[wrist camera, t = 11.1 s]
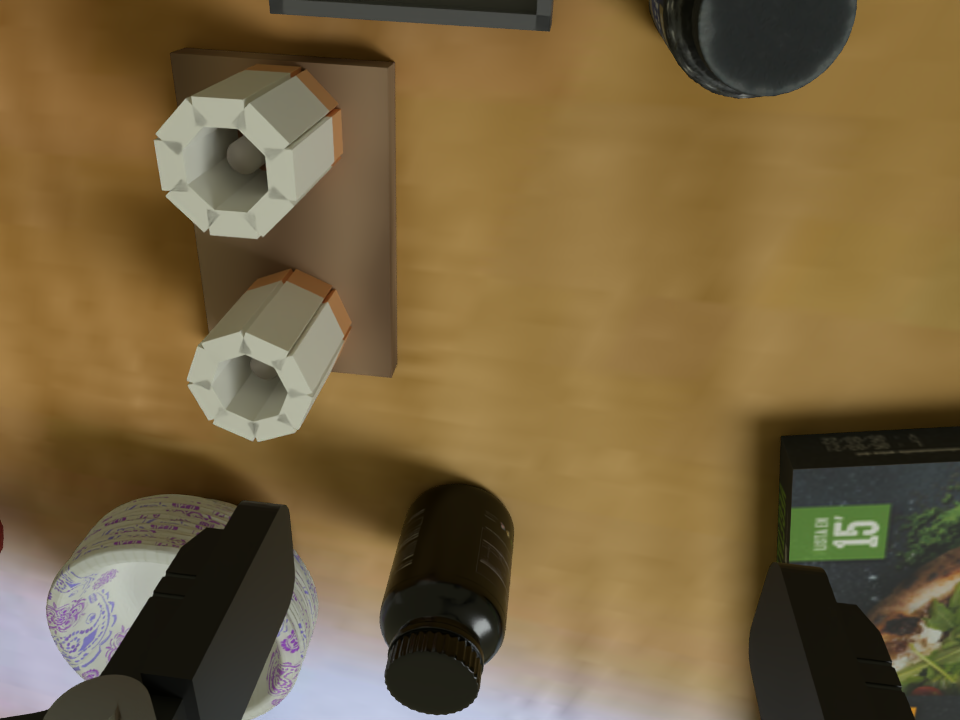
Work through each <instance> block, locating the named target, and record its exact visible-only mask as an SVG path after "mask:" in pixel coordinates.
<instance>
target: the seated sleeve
mask: <svg viewBox="0 0 960 720" xmlns="http://www.w3.org/2000/svg"><path fill="white" fill-rule="evenodd" d="M331 288H332V285H330V284H328V283H325V282H323V281H321V280H319V279H317V278H315V277H313V276H310V275H308V274H306V273H304V272H302V271H300V270H298V269H296V270H295V271H294V272H293V271H292V269H288V270H284V271H281V272H278V273H275V274H272V275H268V276H265V277H262V278H259V279H257V280H256V281H255V282H254V283H253V284H252V285H251V286H250V287H249V288H248V290H247V291H246V292H245V293H244V294H243V295H242V296H241V297H240V299H239V300H238V301H237V302H236V303H235V304H234V305H233V307H232V308H231V309H230V310H229V311H228V312H227V313H226V315H225V316H224V317H223V318H222V319H221V320H220V321H219V323H218V324H217V325H216V326H215V327H214V328H213V329H212V330H211V332H210V333H209V334H208V335H207V336H206V337H205V338H204V340H203V341H202V342H201V343H200V344H199V345H198V347H197V350H196V353H195V356H194V359H193V362H192V365H191V368H190V371H189V374H188V378H187V381H189V382H190V383H189V384H188V387H189V389H190V390H191V392H192V394H193V395H194V397H195V399H196V400H197V402H198V404H199V405H200V407H201V409H202V410H203V412H204V414H205V415H206V417H207V419H208V420H212V419H214V422H213V424H214V425H216V426H219V427H221V428H223V429H225V430H228V431H230V432H232V433H235V434H237V435H239V436H241V437H244V438H246V439H248V440H251V441H253V440H254V439H255V438H256V439H257V441H258V442H260V441H264V440H268V439H272V438H276V437H280V436H284V435H288V434H292V433H295V432H296V431H297V429H298V430H299V429H300V427H301V425H302V423H303V421H304V420H305V418H306V416H307V414H308V412H309V410H310V409H311V407H312V405H313V403H314V401H315V400H316V398H317V396H318V394H319V392H320V390H321V389H322V387H323V385H324V383H325V381H326V379H327V378H328V376H329V374H330V372H331V370H332V369H333V367H334V365H335V363H336V361H337V359H338V358H339V356H340V353H341V351H342V349H343V346H344V344H345V342H346V340H347V337H348V335H349V333H350V330H351V328H352V327H351V326H350V325H351V323H352V322H351V320H350V318H349V316H348V314H347V312H346V309H345V307H344V305H343V303H342V301H341V299H340V297H339V295H338V293H337V290H336V289H335V290H332V291H330V290H331ZM252 358H254V359H256V360H258V361H261V362H263V363H265V364H267V365H269V366H272V367H274V368H275V370H276V372H277V374H278V375H277V376H276V377H275V378H273V379H270V380H265V379H261V378H259V377H258V376H256V375H255V374H254V373H253V371H252V370H251V366H250V362H251V359H252Z"/></svg>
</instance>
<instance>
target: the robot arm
mask: <svg viewBox="0 0 960 720" xmlns="http://www.w3.org/2000/svg"><path fill="white" fill-rule="evenodd" d="M294 583H295V565H294V554H293V544H292V533H291V523H290V513H289V509H288V507H287V506H286V505H281V504H272V503H263V502H254V501H245V500H244V501H241V502H240V503H239V504H238V506H237V507H236V509H235V510H234V512H233V514H232V516H231V517H230V519H229V521H228V522H227V524H226V526H225V528H224V529H217V528H208V527H206V528H205V529H204V530H202V531H201V532H200V533H199V534H197V535H196V536H195V537H194V538H192V539H191V540H190V541H188V542H187V543H186V544H185V545H183V546H182V547H181V548H180V550H179V551H178V553H177V555H176V556H175V558H174V559H173V561H172V563H171V564H170V566H169V567H168V569H167V570H166V575H165V577H162V578H161V580H160V582H159V583H158V585H157V586H156V588H155V589H154V591H153V596H152V597H149V599H148V601H147V602H146V604H145V605H144V607H143V608H142V610H141V612H140V613H139V615H138V616H137V618H136V620H135V621H134V623H133V624H132V626H131V627H130V629H129V631H128V632H127V634H126V635H125V637H124V639H123V640H122V642H121V643H120V645H119V647H118V648H117V650H116V651H115V653H114V654H113V656H112V658H111V659H110V661H109V662H108V664H107V666H106V667H105V669H104V670H103V671H102V673H101V674H100V676H99V677H95V678H92V679H89V680H86V681H84V682H82V683H79V684H78V685H76V686H74V687H73V688H71V689H69V690H68V691H67V692H65V693H64V694H63V695H62V696H60V697H59V698H58V699H57V700H56V701H55V702H54V703H53V705H52V706H51V707H50V708H49V709H48V710H45V711H41V712H36V713H32V714H25V715H19V716H13V717H7V718H0V720H242V717H243V715H244V713H245V710H246V708H247V706H248V703H249V701H250V698H251V696H252V694H253V691H254V689H255V687H256V684H257V682H258V680H259V677H260V675H261V672H262V670H263V668H264V665H265V663H266V661H267V658H268V656H269V654H270V651H271V649H272V647H273V644H274V642H275V639H276V637H277V635H278V632H279V630H280V628H281V625H282V623H283V621H284V618H285V616H286V614H287V611H288V609H289V606H290V603H291V599H292V595H293V590H294ZM749 662H750V668H751V673H752V678H753V683H754V687H755V692H756V697H757V702H758V706H759V711H760V716H761V720H915V717H914V715H913V712H912V710H911V707H910V705H909V702H908V700H907V697H906V695H905V692H902V685H901V682H900V680H899V677H898V675H897V672H896V670H895V668H894V667H892V660H891V657H890V655H889V652H888V650H887V647H886V645H885V642H884V640H883V637H882V635H881V632H880V631H879V630H878V629H877V628H876V627H875V625H874V624H873V623H872V622H871V621H870V620H869V619H868V617H867V616H866V615H865V614H864V613H863V612H862V611H861V609H860V608H859V607H858V606H857V605H855V604H847V603H838V602H837V601H836V599H835V596H834V593H833V590H832V587H831V585H830V582H829V579H828V576H827V574H826V572H825V570H824V569H823V568H821V567H814V566H805V565H797V564H788V563H779V562H773V563H772V564H771V566H770V568H769V570H768V573H767V576H766V580H765V583H764V586H763V589H762V593H761V596H760V599H759V603H758V606H757V609H756V613H755V616H754V619H753V623H752V626H751V630H750V637H749Z"/></svg>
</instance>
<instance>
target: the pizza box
mask: <svg viewBox="0 0 960 720" xmlns="http://www.w3.org/2000/svg"><path fill="white" fill-rule="evenodd" d="M777 562H779V563H788V564H797V565H805V566H814V567H821V568H823V569H824V570H825V572H826V574H827V576H828V579H829V582H830V585H831V587H832V590H833V593H834V596H835V599H836V601H837V602H838V603H847V604H855V605H857V606H858V607H859V608H860V609H861V611H862V612H863V613H864V614H865V615H866V616H867V617H868V619H869V620H870V621H871V622H872V623H873V624H874V625H875V627H876V628H877V629H878V630H879V631H880V632H881V635H882V637H883V640H884V642H885V645H886V647H887V650H888V652H889V655H890V657H891V660H892V667H894V668H895V670H896V672H897V675H898V677H899V680H900V682H901V685H902V692H905V695H906V697H907V700H908V702H909V705H910V707H911V710H912V712H913V715H914V717H915V720H960V426H956V427H938V428H920V429H902V430H884V431H865V432H847V433H829V434H811V435H793V436H781V449H780V478H779V508H778V537H777Z"/></svg>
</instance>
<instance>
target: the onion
mask: <svg viewBox="0 0 960 720" xmlns="http://www.w3.org/2000/svg"><path fill="white" fill-rule="evenodd" d="M3 540H4V534H3V525H2V523H1V520H0V553H1V550H2V548H3Z"/></svg>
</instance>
